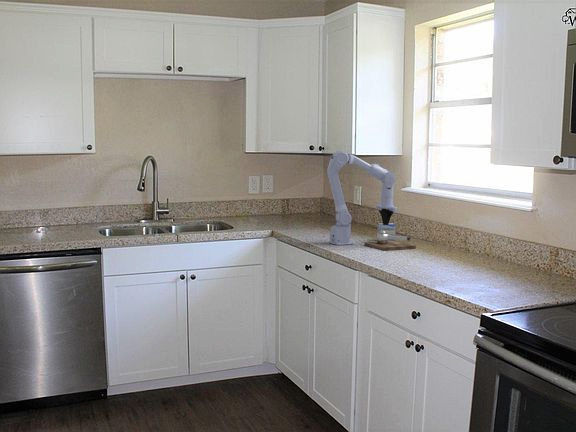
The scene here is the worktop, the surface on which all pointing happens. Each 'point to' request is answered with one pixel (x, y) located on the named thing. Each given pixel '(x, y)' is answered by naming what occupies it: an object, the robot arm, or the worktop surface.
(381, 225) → the medicine box
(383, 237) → the ball-knob lever
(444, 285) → the worktop surface
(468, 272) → the worktop surface
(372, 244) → the stand
